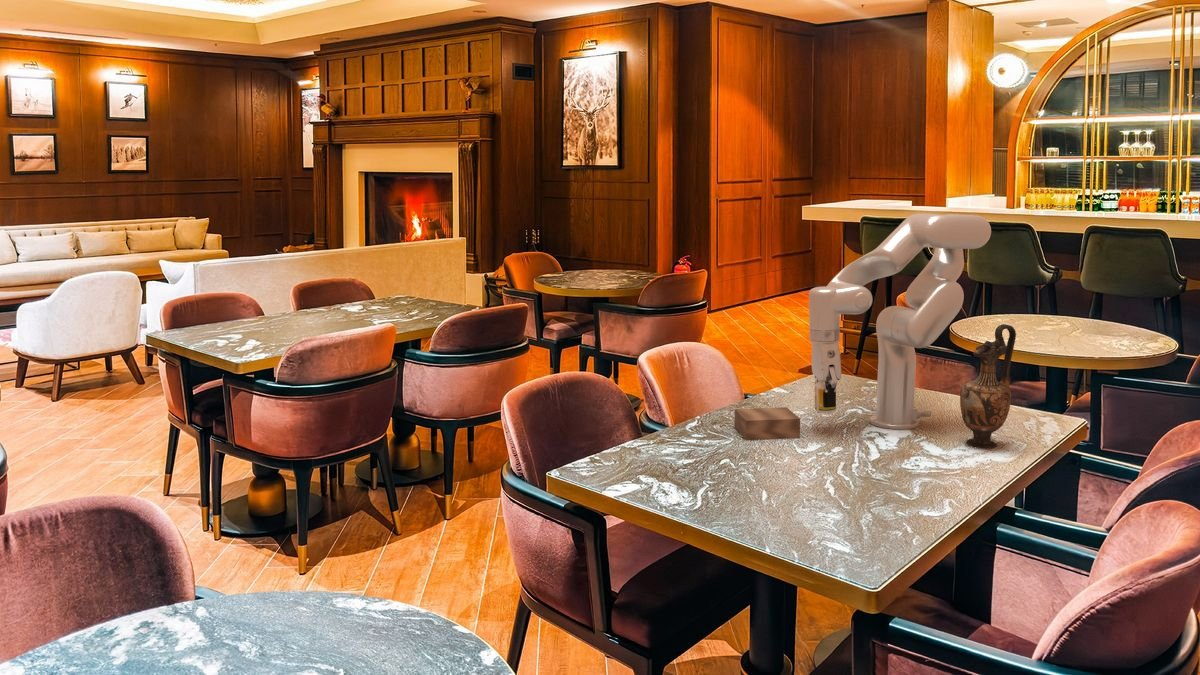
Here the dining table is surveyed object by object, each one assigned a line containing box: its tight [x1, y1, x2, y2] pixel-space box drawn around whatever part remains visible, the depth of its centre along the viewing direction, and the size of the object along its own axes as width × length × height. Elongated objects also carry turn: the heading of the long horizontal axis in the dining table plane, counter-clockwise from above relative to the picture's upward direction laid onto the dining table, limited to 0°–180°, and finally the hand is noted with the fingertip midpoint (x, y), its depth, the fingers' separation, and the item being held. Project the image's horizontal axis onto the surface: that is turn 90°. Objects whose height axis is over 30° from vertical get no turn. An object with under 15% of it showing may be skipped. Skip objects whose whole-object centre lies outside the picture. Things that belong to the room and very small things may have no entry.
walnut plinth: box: [734, 406, 801, 441], centre depth 246 cm, size 14×12×5 cm
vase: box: [959, 323, 1017, 450], centre depth 232 cm, size 12×12×30 cm
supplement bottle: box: [814, 377, 837, 414], centre depth 246 cm, size 5×5×10 cm
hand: (825, 403), depth 246 cm, fingers closed on supplement bottle, 5 cm apart
